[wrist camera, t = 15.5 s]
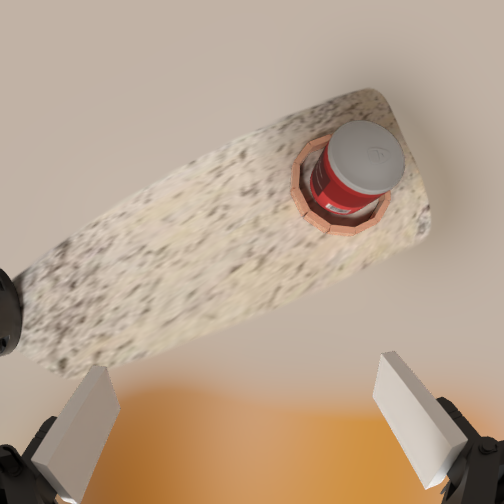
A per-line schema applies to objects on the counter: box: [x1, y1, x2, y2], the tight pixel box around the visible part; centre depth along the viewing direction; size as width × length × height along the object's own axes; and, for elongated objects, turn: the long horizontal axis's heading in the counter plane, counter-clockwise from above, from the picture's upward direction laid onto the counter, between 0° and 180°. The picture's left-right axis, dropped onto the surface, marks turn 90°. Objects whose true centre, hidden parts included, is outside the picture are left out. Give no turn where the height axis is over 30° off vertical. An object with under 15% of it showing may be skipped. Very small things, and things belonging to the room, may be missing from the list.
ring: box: [290, 134, 391, 236], centre depth 35 cm, size 13×13×2 cm
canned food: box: [310, 120, 405, 215], centre depth 31 cm, size 8×8×11 cm
